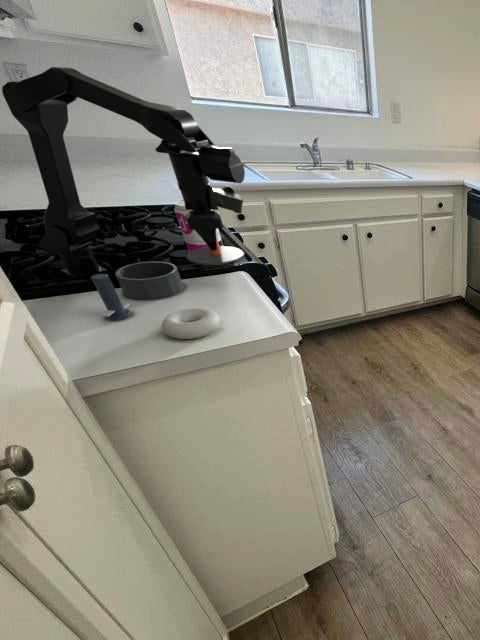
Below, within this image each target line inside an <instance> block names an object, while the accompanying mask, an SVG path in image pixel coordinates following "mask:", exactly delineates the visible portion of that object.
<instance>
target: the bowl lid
mask: <svg viewBox="0 0 480 640" xmlns="http://www.w3.org/2000/svg"><path fill="white" fill-rule="evenodd" d="M216 241H217V250H211V249H210V248H209V246H208V245H207V247H203V248H198V249H195V250H192V251H190V252H189V251H188V252H187V254H186V260H187V261H189V262H190V263H193V264H196V265H202V266H222V265H228V264H232V263H236V262H238V261H240V260H242V259H243V258H244V257H245V252H244V250H242V249H241V248H238V247H236V246H230V245H223V246H219V243H218V240H217V237H216Z"/></svg>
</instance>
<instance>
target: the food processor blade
mask: <svg viewBox="0 0 480 640" xmlns="http://www.w3.org/2000/svg"><path fill="white" fill-rule="evenodd" d="M90 279H91V281H92V283H93V284H94V286H95V288H96V290H97V292H98V295H99V296H100V298H101V300H102V302H103V304H104V306H105V308H106V310H107V311H105V312H104V313H102V314H101V315H100V316H101V317H106V318H107V320H110V321H122V320H126V319H128V318H130V317H131V311H130V310H129V309H127V307H129V306H130V305H131V304H130V303H124V302H123V303H122V301H121V299H120V297H119V295H118V293H117V290H116V288H115V286H114V285H113V282H112V281H111V278H110V276H109V275H108V274H107V273H99V274H95V275H91V277H90Z"/></svg>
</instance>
